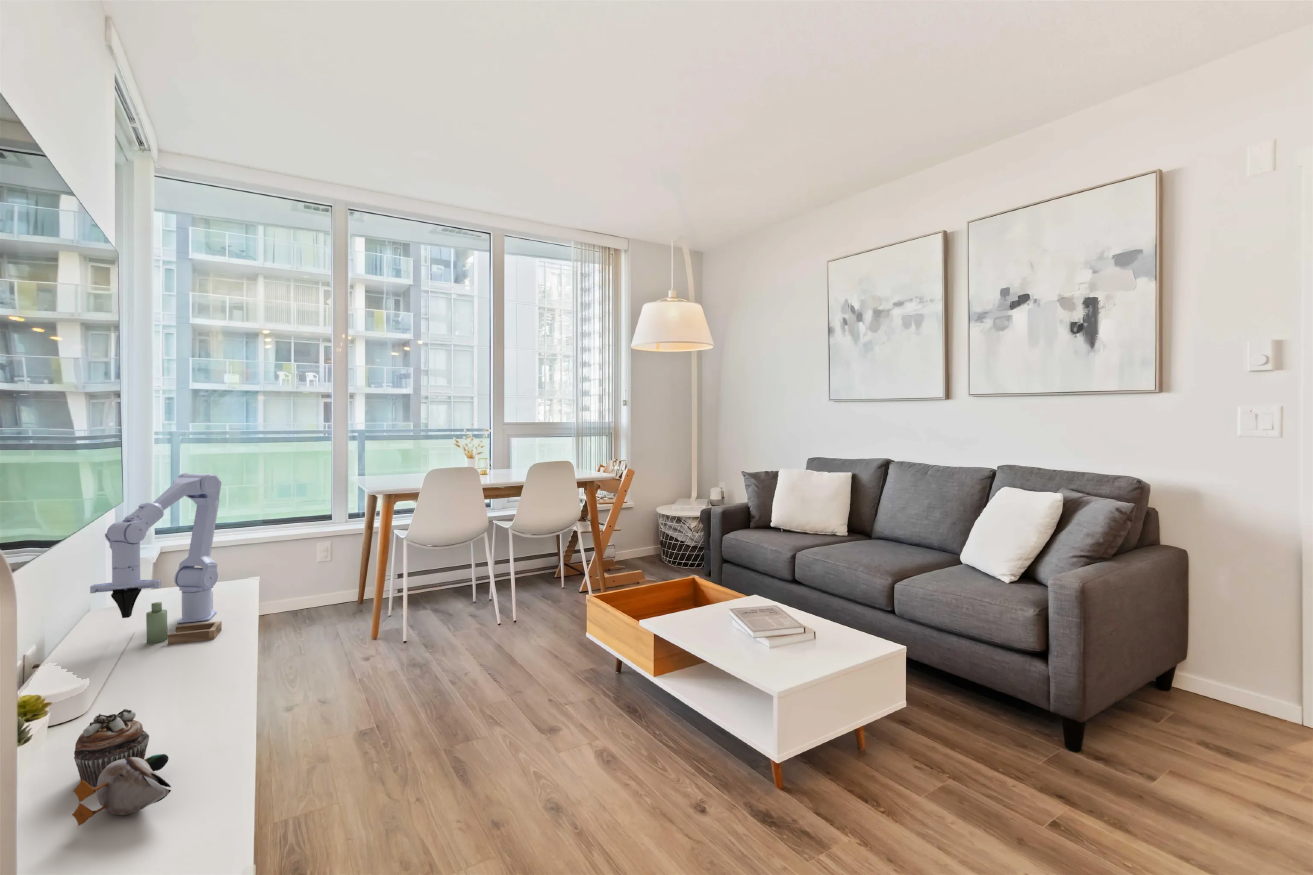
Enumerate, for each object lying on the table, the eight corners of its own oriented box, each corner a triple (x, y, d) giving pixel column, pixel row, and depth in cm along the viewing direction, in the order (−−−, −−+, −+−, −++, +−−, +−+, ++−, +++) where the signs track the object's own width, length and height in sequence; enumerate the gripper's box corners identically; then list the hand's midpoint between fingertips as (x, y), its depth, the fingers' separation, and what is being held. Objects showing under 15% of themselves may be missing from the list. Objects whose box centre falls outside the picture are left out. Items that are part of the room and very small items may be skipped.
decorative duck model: (146, 734, 105) (228, 735, 104) (144, 780, 104) (226, 781, 103) (53, 775, 90) (147, 777, 89) (50, 829, 90) (145, 831, 88)
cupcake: (69, 797, 98) (68, 734, 98) (79, 769, 106) (78, 711, 105) (147, 777, 103) (146, 718, 103) (151, 752, 111) (151, 697, 111)
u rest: (177, 634, 172) (177, 625, 172) (221, 629, 177) (221, 621, 176) (167, 644, 165) (167, 634, 165) (214, 638, 169) (214, 629, 169)
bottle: (149, 639, 168) (149, 601, 168) (169, 637, 170) (169, 599, 170) (144, 644, 164) (143, 606, 164) (164, 642, 166) (163, 604, 166)
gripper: (84, 572, 158) (85, 624, 158) (154, 567, 163) (155, 617, 164) (96, 566, 164) (97, 616, 164) (163, 561, 170) (164, 610, 170)
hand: (126, 616), depth 164 cm, fingers closed
